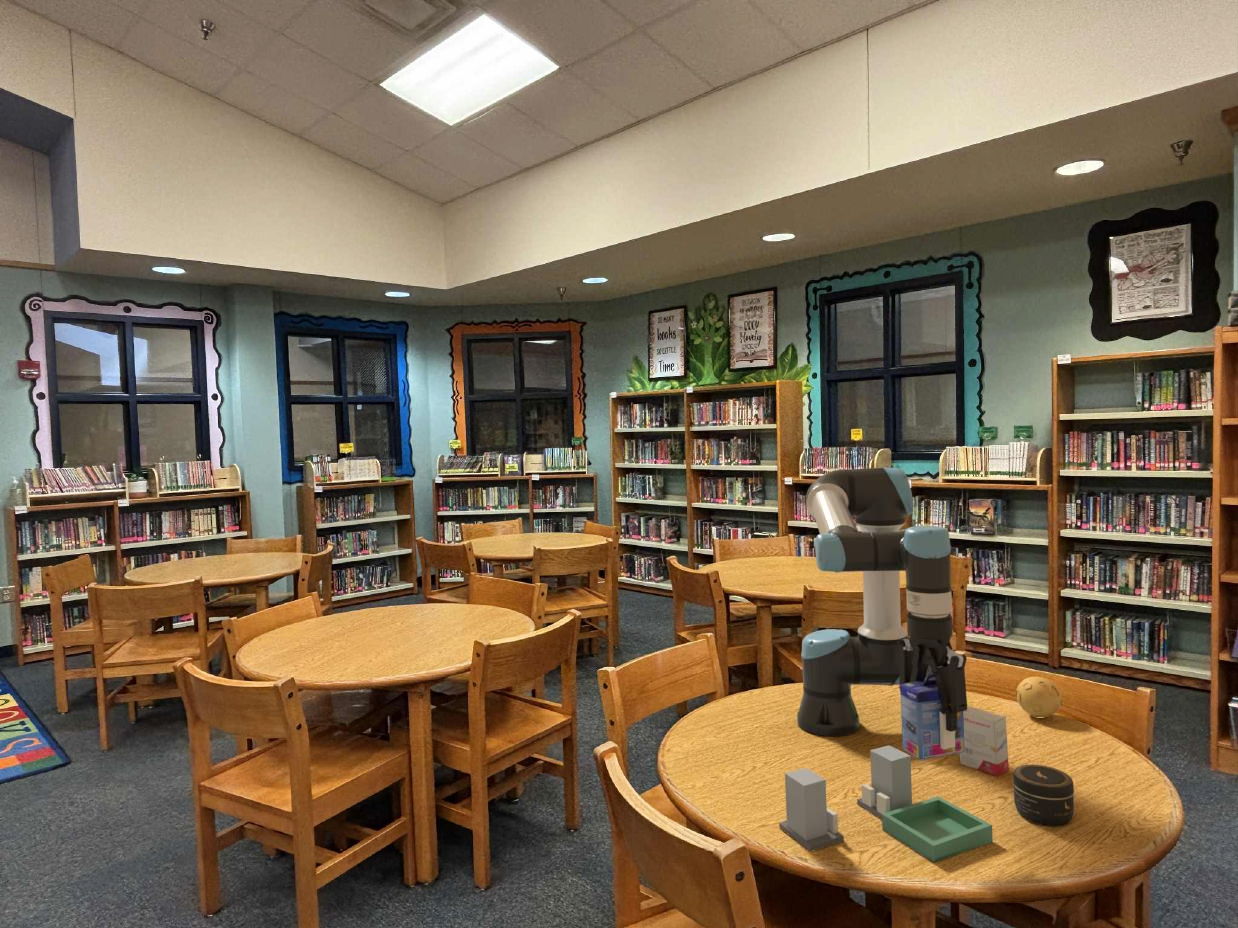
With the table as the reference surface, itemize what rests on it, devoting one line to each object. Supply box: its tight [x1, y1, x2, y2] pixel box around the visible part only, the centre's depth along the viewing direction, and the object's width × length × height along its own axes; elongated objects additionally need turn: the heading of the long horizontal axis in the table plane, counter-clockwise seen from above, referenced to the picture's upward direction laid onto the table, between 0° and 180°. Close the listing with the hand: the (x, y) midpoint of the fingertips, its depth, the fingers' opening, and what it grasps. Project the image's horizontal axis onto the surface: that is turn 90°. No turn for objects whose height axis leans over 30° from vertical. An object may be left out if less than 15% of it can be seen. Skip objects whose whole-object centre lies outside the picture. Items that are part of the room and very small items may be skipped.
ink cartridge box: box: [899, 673, 964, 761], centre depth 132 cm, size 10×6×14 cm, turn 106°
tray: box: [881, 796, 994, 864], centre depth 132 cm, size 12×14×3 cm
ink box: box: [959, 706, 1010, 777], centre depth 158 cm, size 9×5×12 cm, turn 33°
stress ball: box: [1015, 676, 1063, 718], centre depth 184 cm, size 10×10×10 cm
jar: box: [1012, 764, 1075, 828], centre depth 138 cm, size 10×10×8 cm
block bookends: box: [778, 745, 913, 852], centre depth 138 cm, size 9×26×11 cm, turn 114°
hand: (933, 740), depth 132 cm, fingers closed on ink cartridge box, 6 cm apart
